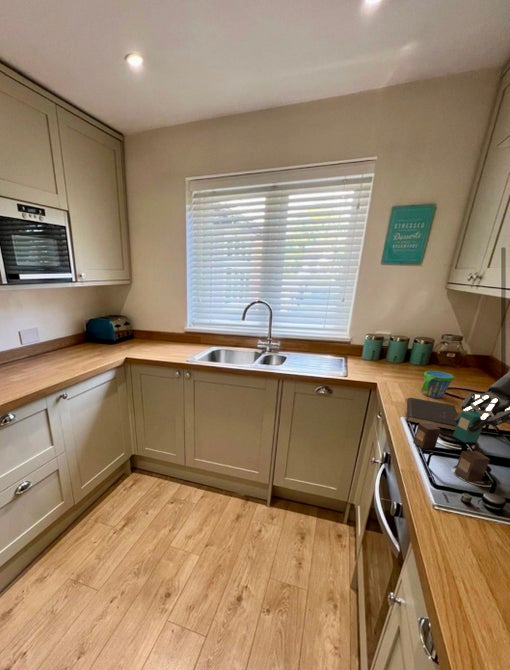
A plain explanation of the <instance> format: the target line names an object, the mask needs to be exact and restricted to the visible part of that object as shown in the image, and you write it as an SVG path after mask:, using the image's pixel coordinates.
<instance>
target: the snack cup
mask: <svg viewBox="0 0 510 670" xmlns="http://www.w3.org/2000/svg"><path fill="white" fill-rule="evenodd" d="M423 376H424V378H423V384H422V385H421V390H422V394H423V395H424V396H425V397H429V398H433V399H442V398H444V396H445V394H446V393H447V390H448V388H449V386H450V385H451V383H452V381H453V380H454V379H455V376H454V375H453V374H451V373H448V372H444V371H439V370H426V371H425V372H424V373H423Z"/></svg>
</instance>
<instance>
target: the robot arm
mask: <svg viewBox="0 0 510 670" xmlns="http://www.w3.org/2000/svg"><path fill="white" fill-rule="evenodd" d="M459 407H460V409H461V411H475V412H478V413H480V414H482V413H483V412H484V413H483V414H482V417H481V419H478V420H476V421H475V422H474V423H473V424H471V425H470V426H468V429H469V431H470V432H472V433H473V432H476V431H478V430H479V429H481V428H482V429H483V428H484V427H485V426H487V425H488V426H489V425H490V426H493V427H497V426H499V425H502V424H505V423H506V422H509V421H510V371H508V372H507V373H505V374H504V375H503V376H501V377H500V378H499V379H497V381H495V382H494V383H493V384H491V385H490V386H489V387H488V389H487V391H486V392H483V393H481V394H475V393H474V392H473V391H471V392H469V393H468V394H467V396H466V397H465V399H464V400H463V401H462V402H461V404H460V405H459ZM459 416H460V414H458V416H457V417H456V418H455V420H454V422H455V423H456V425H457V423H458V420H459Z"/></svg>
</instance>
